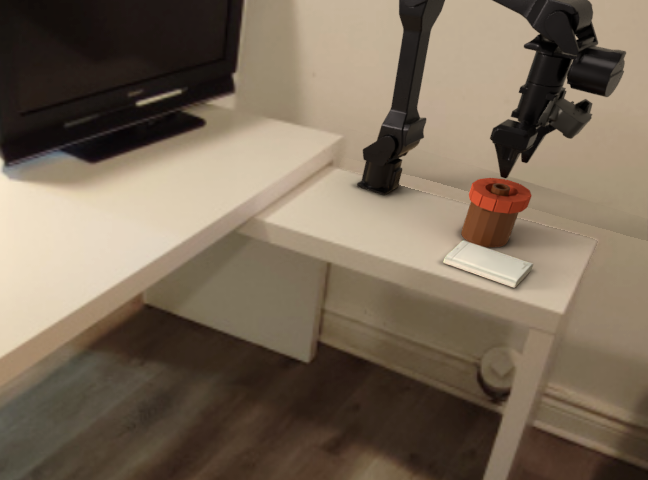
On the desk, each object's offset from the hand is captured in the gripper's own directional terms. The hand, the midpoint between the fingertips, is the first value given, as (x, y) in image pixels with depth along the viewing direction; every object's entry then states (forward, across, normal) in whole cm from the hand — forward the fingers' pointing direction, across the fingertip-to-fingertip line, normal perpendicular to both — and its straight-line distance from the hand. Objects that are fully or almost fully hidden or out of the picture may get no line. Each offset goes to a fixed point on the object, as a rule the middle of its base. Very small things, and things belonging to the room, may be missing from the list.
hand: (514, 169), depth 142 cm
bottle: (+12, -4, 0) cm, 13 cm away
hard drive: (+12, -14, -5) cm, 19 cm away
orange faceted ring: (+5, -3, 0) cm, 6 cm away
